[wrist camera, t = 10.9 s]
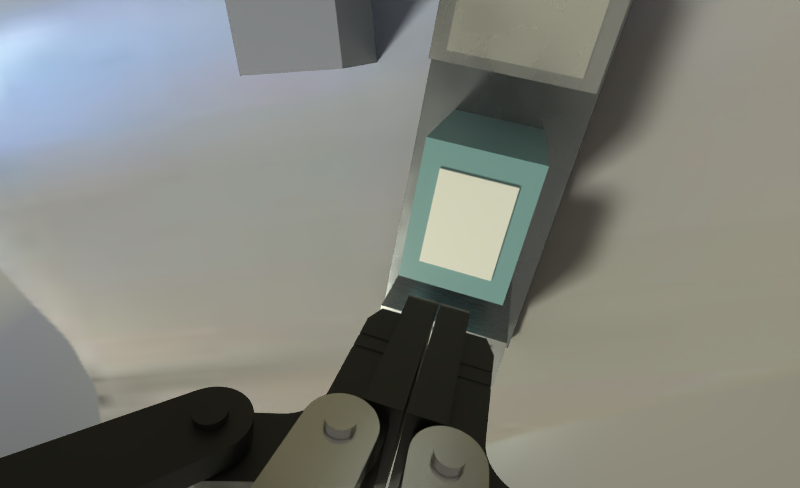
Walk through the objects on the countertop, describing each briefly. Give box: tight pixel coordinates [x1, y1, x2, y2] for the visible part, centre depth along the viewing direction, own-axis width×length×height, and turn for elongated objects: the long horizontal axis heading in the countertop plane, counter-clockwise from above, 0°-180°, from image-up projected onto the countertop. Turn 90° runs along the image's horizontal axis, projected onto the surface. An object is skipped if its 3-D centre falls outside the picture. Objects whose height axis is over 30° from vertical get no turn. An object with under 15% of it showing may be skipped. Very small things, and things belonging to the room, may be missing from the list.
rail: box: [381, 0, 633, 389], centre depth 22 cm, size 20×8×7 cm, turn 170°
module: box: [398, 109, 549, 306], centre depth 21 cm, size 6×4×7 cm
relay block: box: [225, 0, 377, 76], centre depth 21 cm, size 5×5×5 cm
